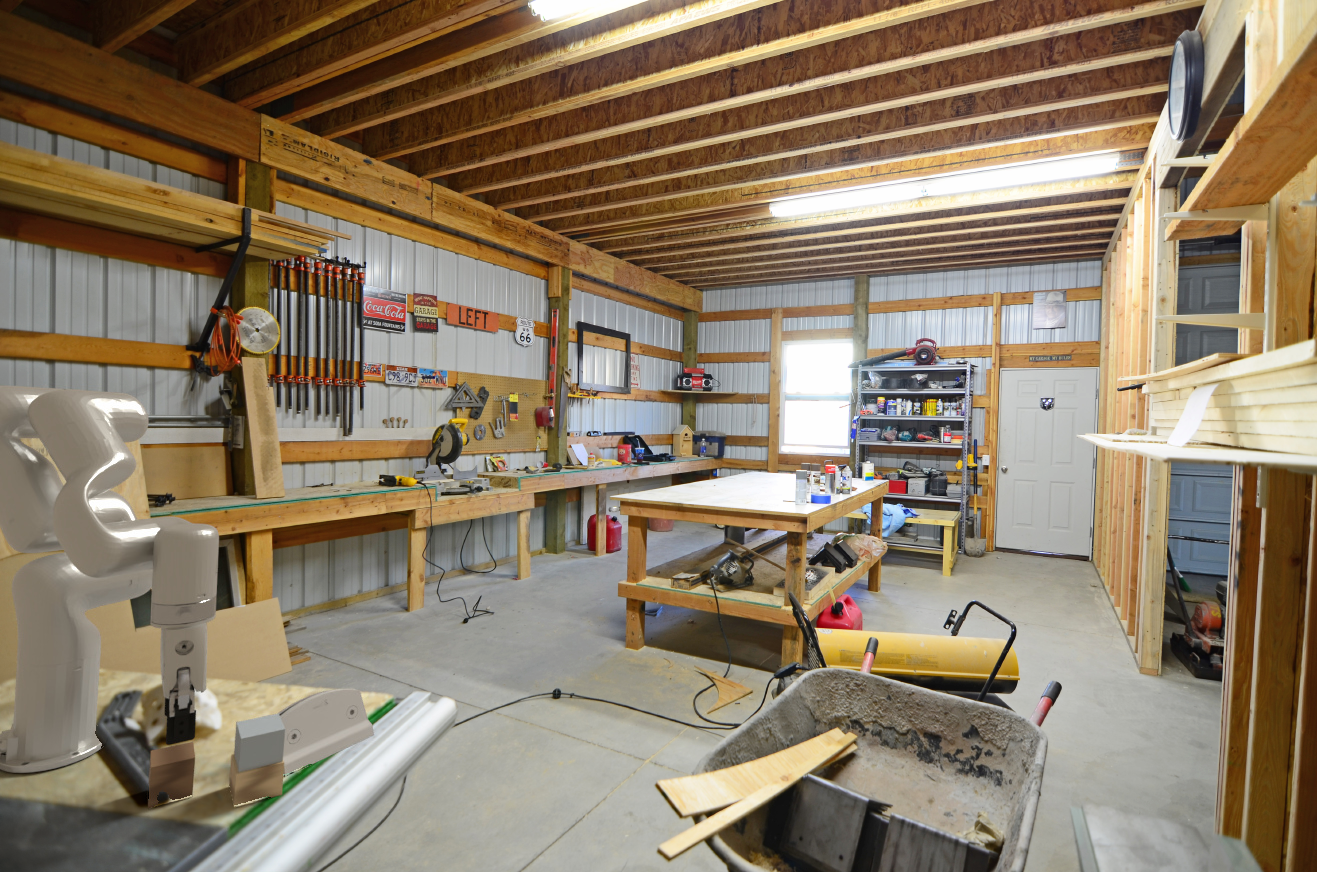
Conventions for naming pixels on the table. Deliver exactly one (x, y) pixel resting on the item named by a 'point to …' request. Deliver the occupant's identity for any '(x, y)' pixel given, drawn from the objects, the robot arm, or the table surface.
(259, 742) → the grey block
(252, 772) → the oak block
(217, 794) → the table surface
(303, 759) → the beige mounting bracket
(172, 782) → the walnut block
